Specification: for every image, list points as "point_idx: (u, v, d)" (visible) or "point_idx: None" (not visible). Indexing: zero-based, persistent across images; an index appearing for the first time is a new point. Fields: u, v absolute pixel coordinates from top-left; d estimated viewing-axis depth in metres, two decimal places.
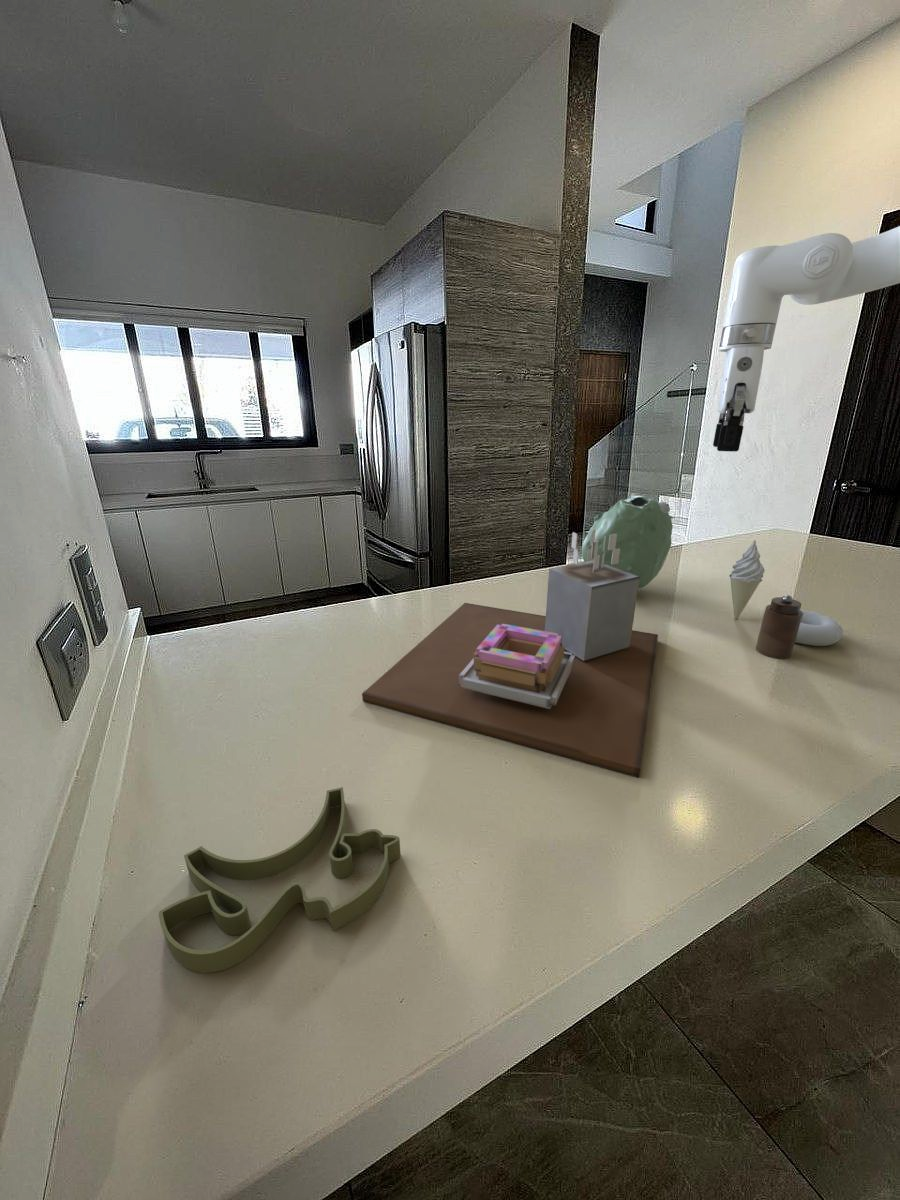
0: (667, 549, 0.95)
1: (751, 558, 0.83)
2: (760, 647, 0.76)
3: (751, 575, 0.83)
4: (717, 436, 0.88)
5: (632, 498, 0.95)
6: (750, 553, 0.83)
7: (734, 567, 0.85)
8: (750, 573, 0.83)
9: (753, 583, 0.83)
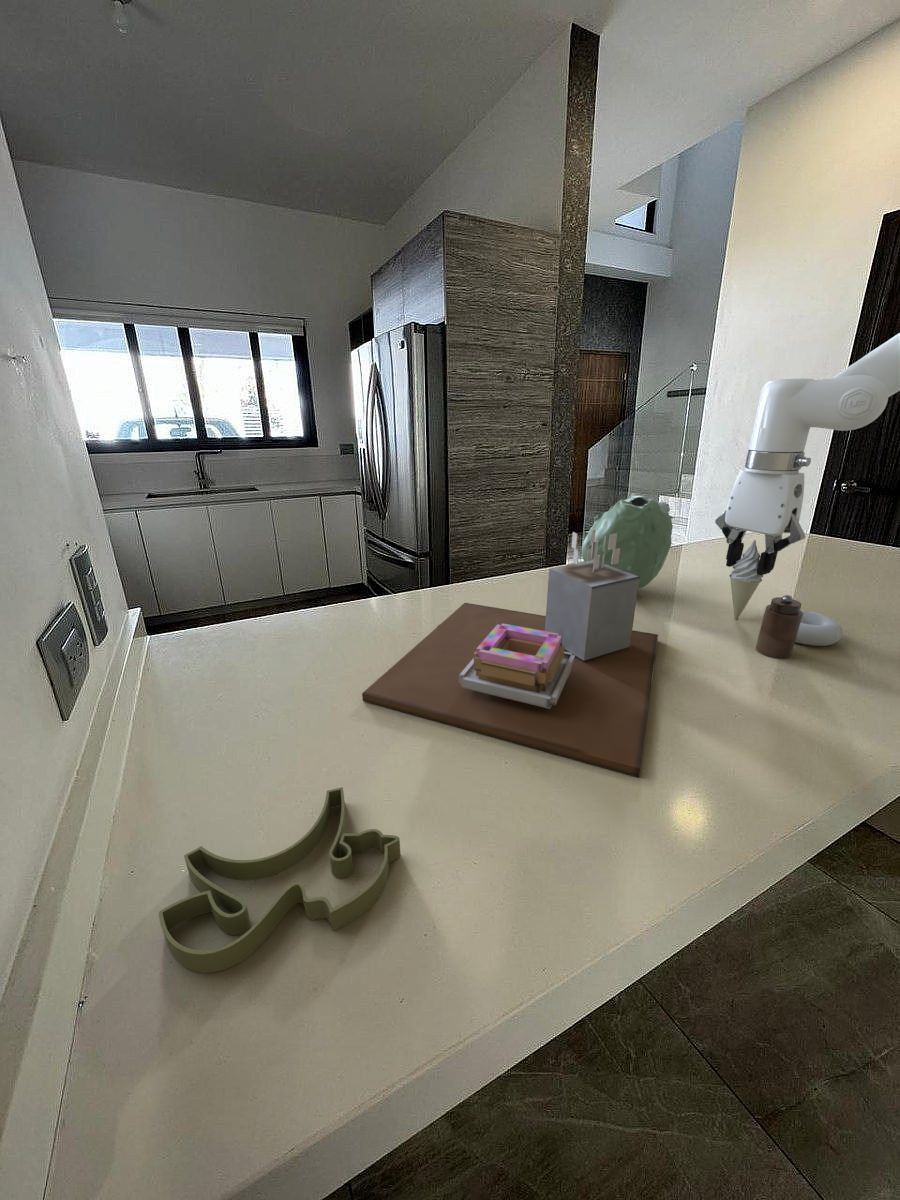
0: (667, 549, 0.95)
1: (751, 558, 0.83)
2: (760, 647, 0.76)
3: (751, 575, 0.83)
4: (733, 557, 0.85)
5: (632, 498, 0.95)
6: (750, 553, 0.83)
7: (734, 567, 0.85)
8: (750, 573, 0.83)
9: (753, 583, 0.83)
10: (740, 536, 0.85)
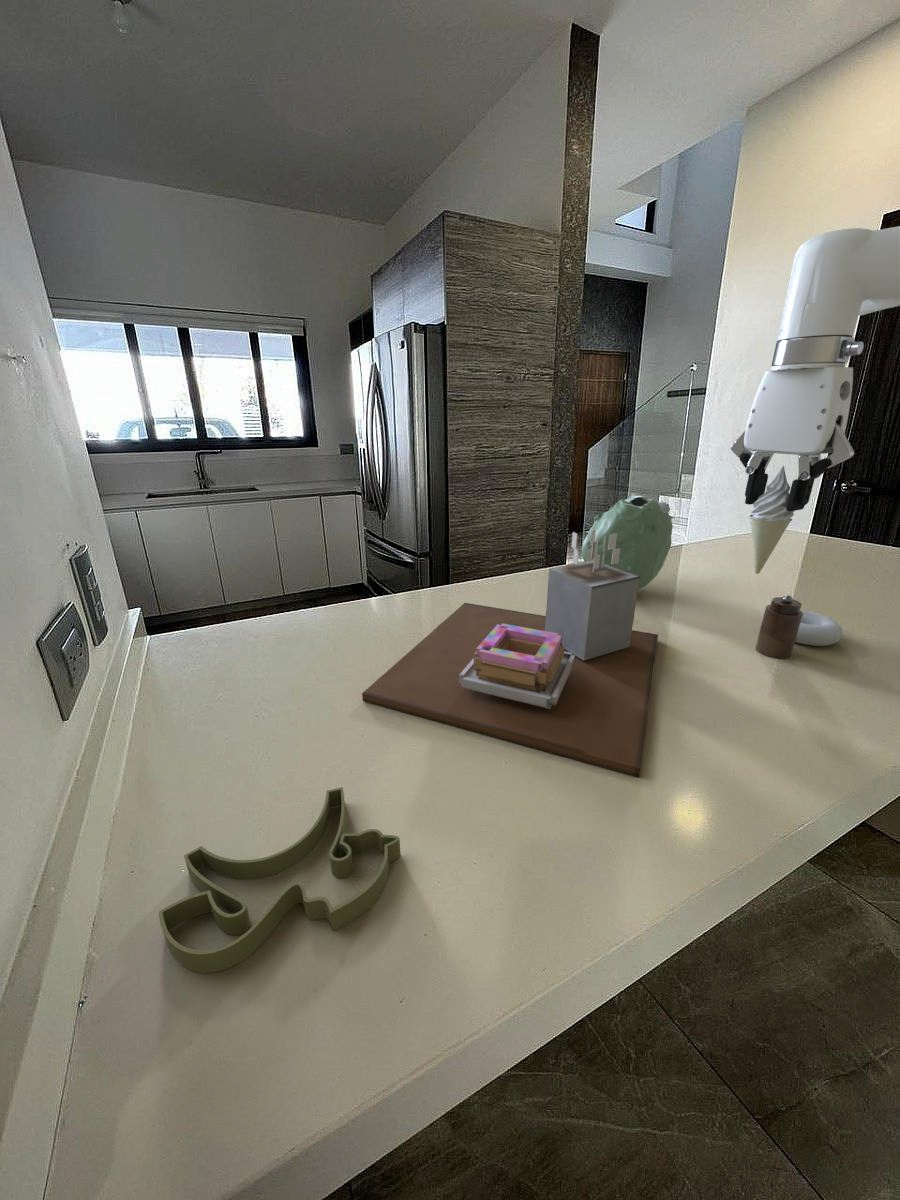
0: (667, 549, 0.95)
1: (778, 490, 0.63)
2: (760, 647, 0.76)
3: (778, 512, 0.63)
4: (754, 491, 0.66)
5: (632, 498, 0.95)
6: (777, 484, 0.64)
7: (755, 505, 0.66)
8: (777, 510, 0.64)
9: (781, 523, 0.64)
10: (764, 464, 0.66)
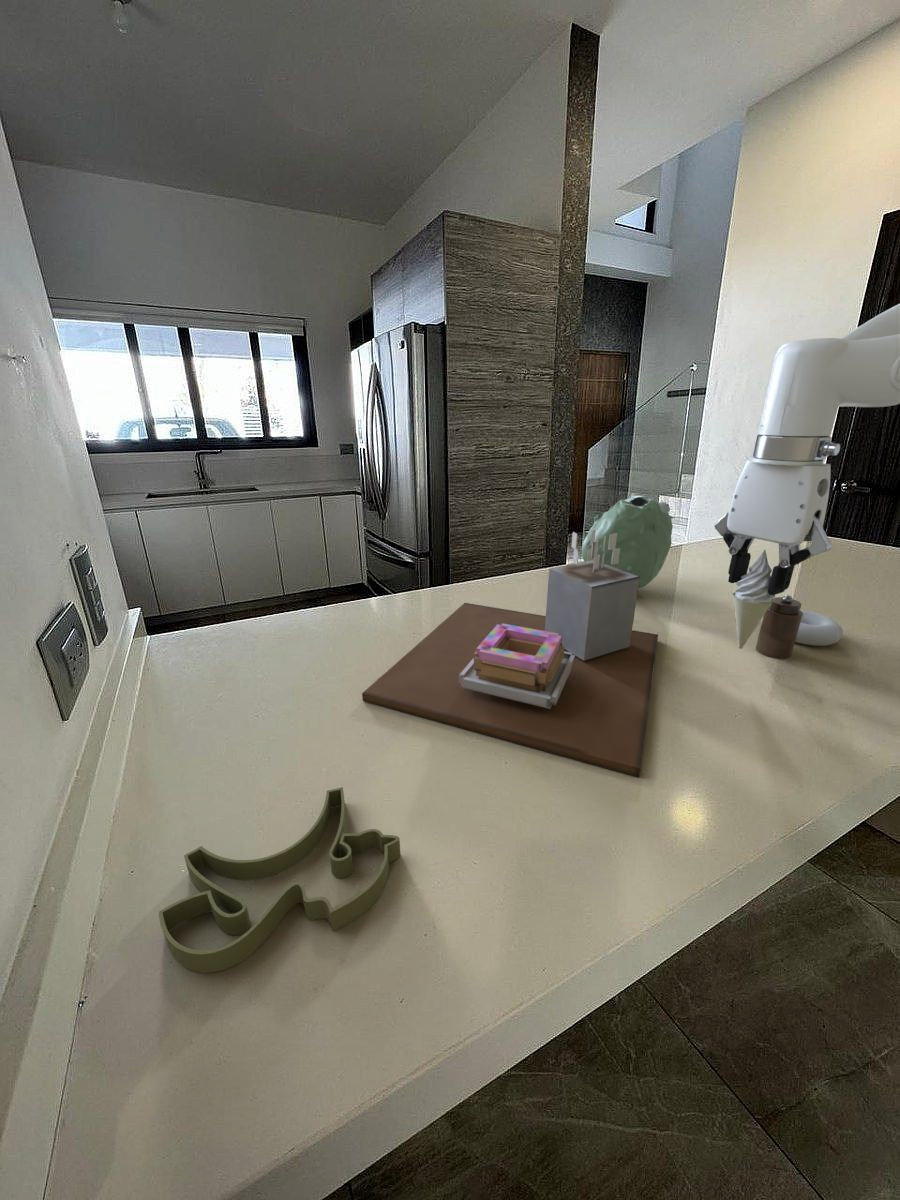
0: (667, 549, 0.95)
1: (760, 573, 0.65)
2: (760, 647, 0.76)
3: (760, 595, 0.65)
4: (737, 571, 0.68)
5: (632, 498, 0.95)
6: (759, 567, 0.65)
7: (738, 584, 0.68)
8: (759, 592, 0.65)
9: (763, 605, 0.65)
10: (747, 544, 0.68)
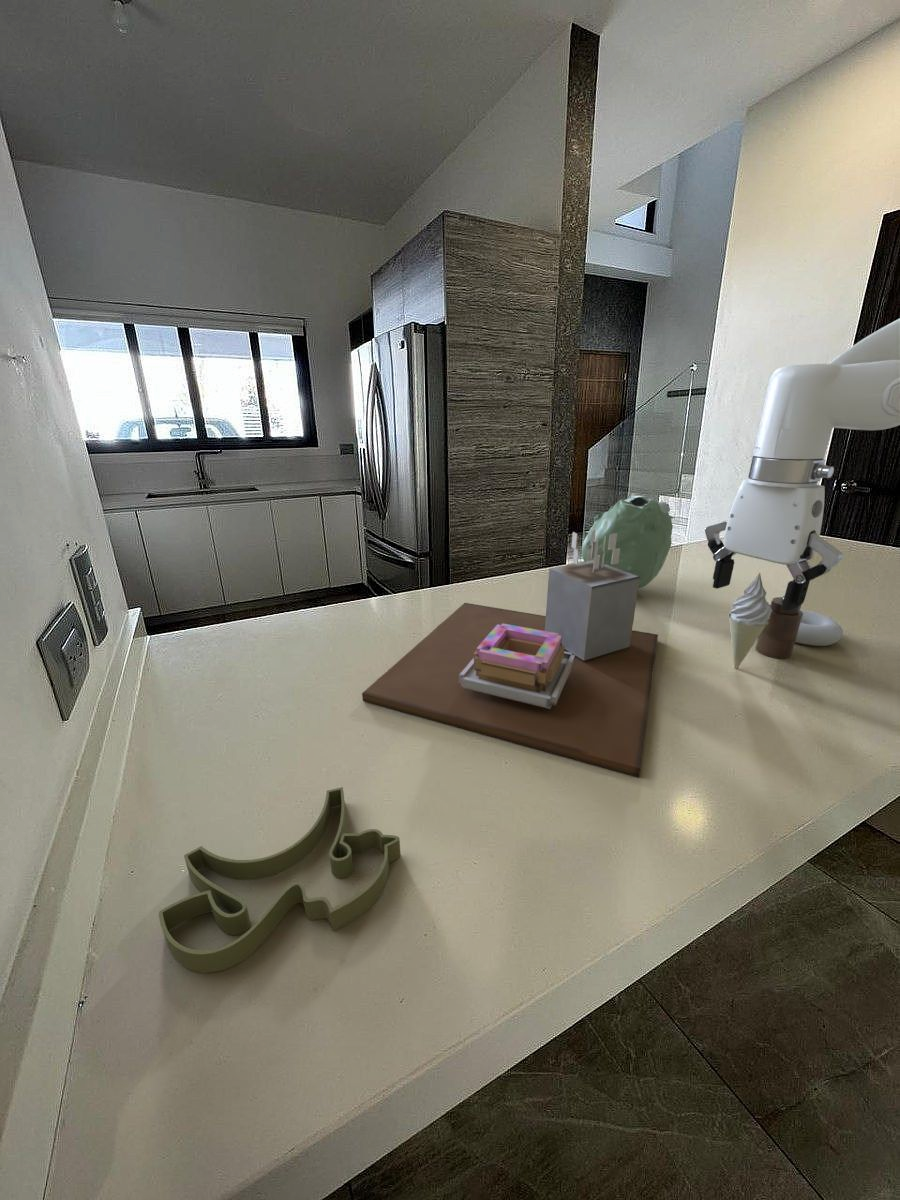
0: (667, 549, 0.95)
1: (755, 596, 0.66)
2: (760, 647, 0.76)
3: (755, 617, 0.66)
4: (721, 577, 0.70)
5: (632, 498, 0.95)
6: (754, 590, 0.66)
7: (734, 605, 0.69)
8: (754, 614, 0.67)
9: (757, 627, 0.67)
10: (731, 553, 0.70)
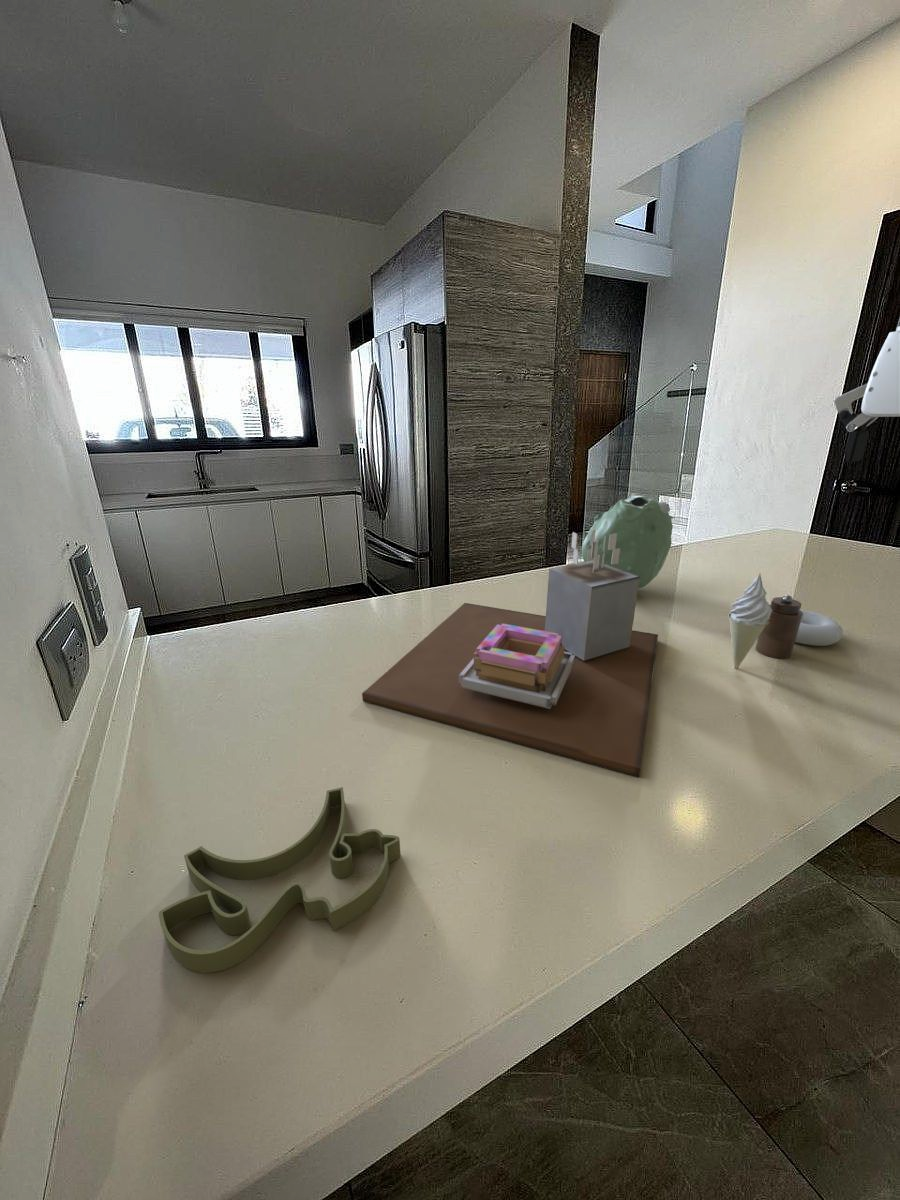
0: (667, 549, 0.95)
1: (755, 596, 0.66)
2: (760, 647, 0.76)
3: (755, 617, 0.66)
4: (856, 448, 0.65)
5: (632, 498, 0.95)
6: (754, 590, 0.66)
7: (734, 605, 0.69)
8: (754, 614, 0.67)
9: (757, 627, 0.67)
10: (866, 423, 0.65)
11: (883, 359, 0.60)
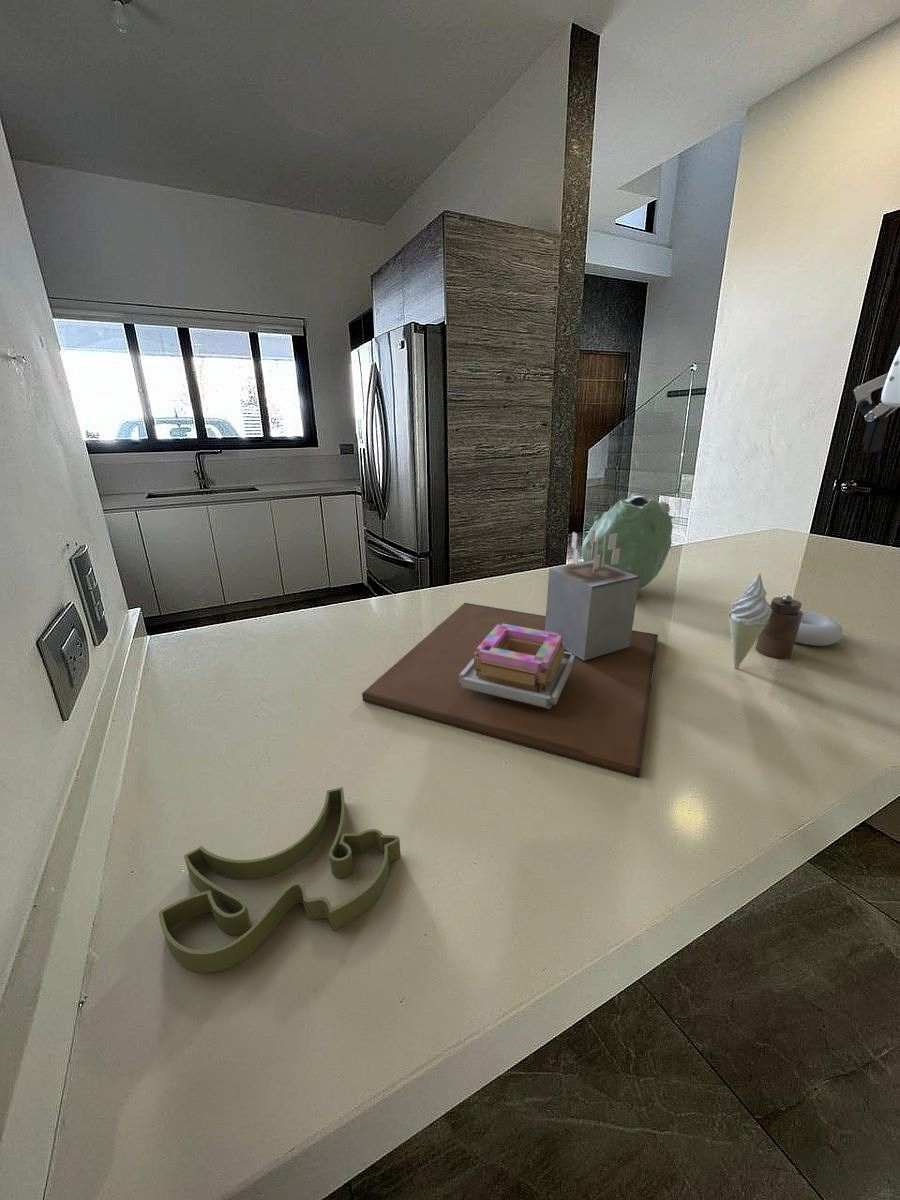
0: (667, 549, 0.95)
1: (755, 596, 0.66)
2: (760, 647, 0.76)
3: (755, 617, 0.66)
4: (874, 438, 0.65)
5: (632, 498, 0.95)
6: (754, 590, 0.66)
7: (734, 605, 0.69)
8: (754, 614, 0.67)
9: (757, 627, 0.67)
10: (885, 413, 0.65)
11: None
